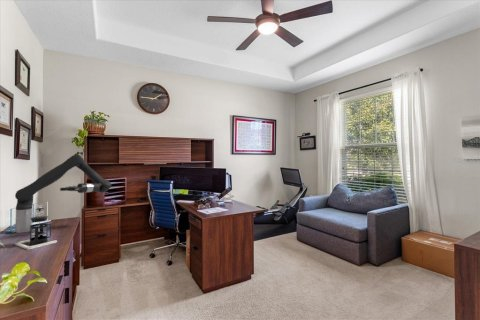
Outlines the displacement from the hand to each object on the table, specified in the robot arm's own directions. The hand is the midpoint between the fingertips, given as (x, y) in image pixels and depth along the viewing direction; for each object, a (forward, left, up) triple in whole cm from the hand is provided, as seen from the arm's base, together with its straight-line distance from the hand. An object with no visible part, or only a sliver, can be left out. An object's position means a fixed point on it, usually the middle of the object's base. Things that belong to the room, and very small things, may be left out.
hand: (60, 189), depth 171 cm
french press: (+8, -15, -34) cm, 38 cm away
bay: (+7, -17, -34) cm, 38 cm away
